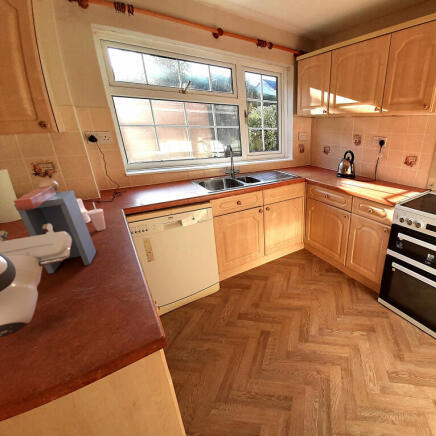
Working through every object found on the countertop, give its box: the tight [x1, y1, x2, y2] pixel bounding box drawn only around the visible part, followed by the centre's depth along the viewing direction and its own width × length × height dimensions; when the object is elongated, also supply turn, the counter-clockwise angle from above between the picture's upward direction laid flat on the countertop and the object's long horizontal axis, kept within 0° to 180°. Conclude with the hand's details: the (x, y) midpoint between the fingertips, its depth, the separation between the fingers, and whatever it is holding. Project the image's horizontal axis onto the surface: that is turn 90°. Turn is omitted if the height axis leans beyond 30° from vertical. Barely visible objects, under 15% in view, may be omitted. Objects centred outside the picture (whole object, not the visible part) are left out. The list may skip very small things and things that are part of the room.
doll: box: [13, 178, 60, 212], centre depth 79 cm, size 23×5×5 cm, turn 27°
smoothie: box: [87, 201, 107, 232], centre depth 119 cm, size 6×6×14 cm
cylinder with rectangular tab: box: [76, 198, 92, 224], centre depth 129 cm, size 9×9×12 cm
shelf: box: [13, 190, 97, 275], centre depth 88 cm, size 12×12×26 cm
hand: (26, 228), depth 69 cm, fingers open, 8 cm apart
